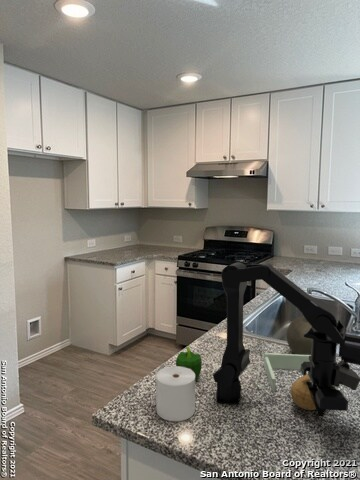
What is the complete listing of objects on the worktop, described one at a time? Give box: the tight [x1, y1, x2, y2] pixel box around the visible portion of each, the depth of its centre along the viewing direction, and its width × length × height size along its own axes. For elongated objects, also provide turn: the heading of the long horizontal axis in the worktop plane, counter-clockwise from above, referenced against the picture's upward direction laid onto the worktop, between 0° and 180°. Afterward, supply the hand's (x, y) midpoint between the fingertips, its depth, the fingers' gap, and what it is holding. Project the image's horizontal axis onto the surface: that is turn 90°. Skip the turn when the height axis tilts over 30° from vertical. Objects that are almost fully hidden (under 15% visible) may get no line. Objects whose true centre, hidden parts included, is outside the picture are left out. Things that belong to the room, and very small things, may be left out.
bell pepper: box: [175, 346, 203, 382], centre depth 110 cm, size 8×8×10 cm
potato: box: [290, 373, 316, 411], centre depth 96 cm, size 10×14×8 cm
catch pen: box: [263, 352, 339, 393], centre depth 110 cm, size 19×16×5 cm
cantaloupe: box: [286, 315, 312, 355], centre depth 127 cm, size 14×14×15 cm
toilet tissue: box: [155, 362, 196, 422], centre depth 94 cm, size 11×12×10 cm
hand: (320, 415), depth 87 cm, fingers closed
